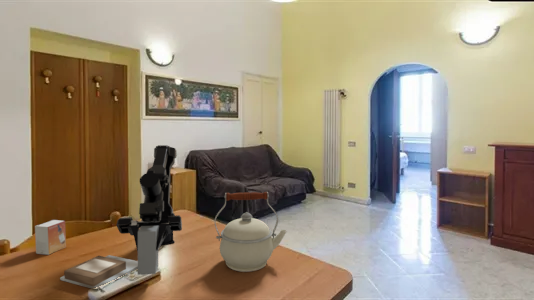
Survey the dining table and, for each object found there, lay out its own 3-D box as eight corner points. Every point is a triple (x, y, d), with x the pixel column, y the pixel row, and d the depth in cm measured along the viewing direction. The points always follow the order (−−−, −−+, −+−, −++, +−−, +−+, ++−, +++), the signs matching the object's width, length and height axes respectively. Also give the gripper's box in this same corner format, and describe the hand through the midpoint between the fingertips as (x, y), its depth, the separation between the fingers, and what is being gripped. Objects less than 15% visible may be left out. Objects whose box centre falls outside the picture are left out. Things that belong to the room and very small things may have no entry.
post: (141, 266, 98) (141, 225, 97) (158, 266, 99) (158, 225, 98) (137, 274, 93) (137, 231, 92) (155, 273, 94) (155, 231, 93)
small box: (48, 255, 114) (47, 227, 114) (35, 254, 116) (34, 225, 115) (66, 247, 122) (65, 220, 121) (54, 245, 123) (53, 219, 123)
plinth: (109, 257, 113) (108, 247, 113) (144, 264, 108) (144, 254, 107) (60, 280, 97) (59, 268, 96) (98, 290, 91) (98, 278, 91)
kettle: (214, 277, 99) (214, 199, 97) (214, 253, 117) (214, 187, 115) (292, 272, 103) (293, 197, 101) (281, 250, 121) (281, 186, 119)
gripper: (117, 192, 96) (107, 240, 86) (180, 190, 99) (178, 237, 89) (124, 210, 104) (116, 256, 94) (183, 208, 108) (180, 252, 98)
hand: (147, 250), depth 94 cm, fingers closed on post, 5 cm apart
